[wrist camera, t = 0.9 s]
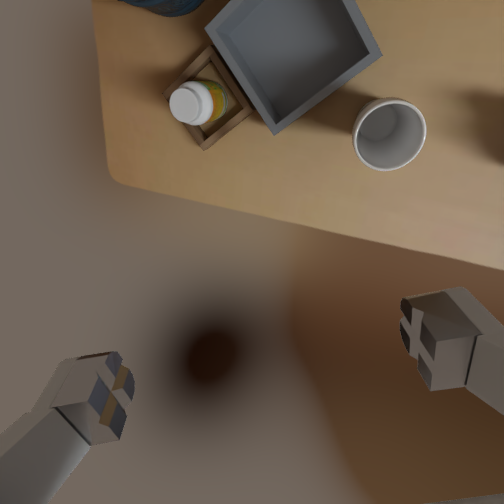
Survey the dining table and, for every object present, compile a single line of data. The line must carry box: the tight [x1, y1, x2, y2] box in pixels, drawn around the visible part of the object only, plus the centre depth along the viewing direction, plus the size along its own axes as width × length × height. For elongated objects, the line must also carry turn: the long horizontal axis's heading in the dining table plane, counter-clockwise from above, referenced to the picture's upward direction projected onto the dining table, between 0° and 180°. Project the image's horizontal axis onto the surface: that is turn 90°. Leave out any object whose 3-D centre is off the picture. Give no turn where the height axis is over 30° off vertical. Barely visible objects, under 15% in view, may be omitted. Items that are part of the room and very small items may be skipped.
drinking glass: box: [352, 97, 426, 171], centre depth 37 cm, size 7×7×15 cm
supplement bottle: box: [169, 81, 227, 125], centre depth 44 cm, size 5×5×10 cm
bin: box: [204, 0, 383, 135], centre depth 39 cm, size 15×15×6 cm
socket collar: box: [162, 45, 256, 151], centre depth 47 cm, size 10×10×2 cm
